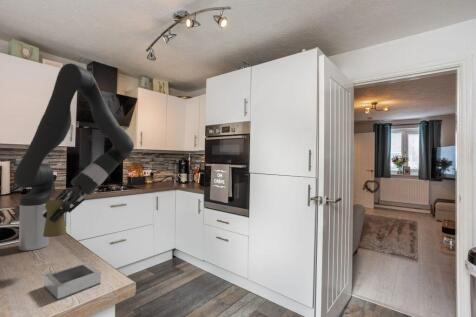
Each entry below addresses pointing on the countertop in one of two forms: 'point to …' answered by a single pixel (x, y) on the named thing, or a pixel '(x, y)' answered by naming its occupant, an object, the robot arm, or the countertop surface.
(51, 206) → the cork
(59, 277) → the grey shallow square box
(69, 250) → the countertop surface
